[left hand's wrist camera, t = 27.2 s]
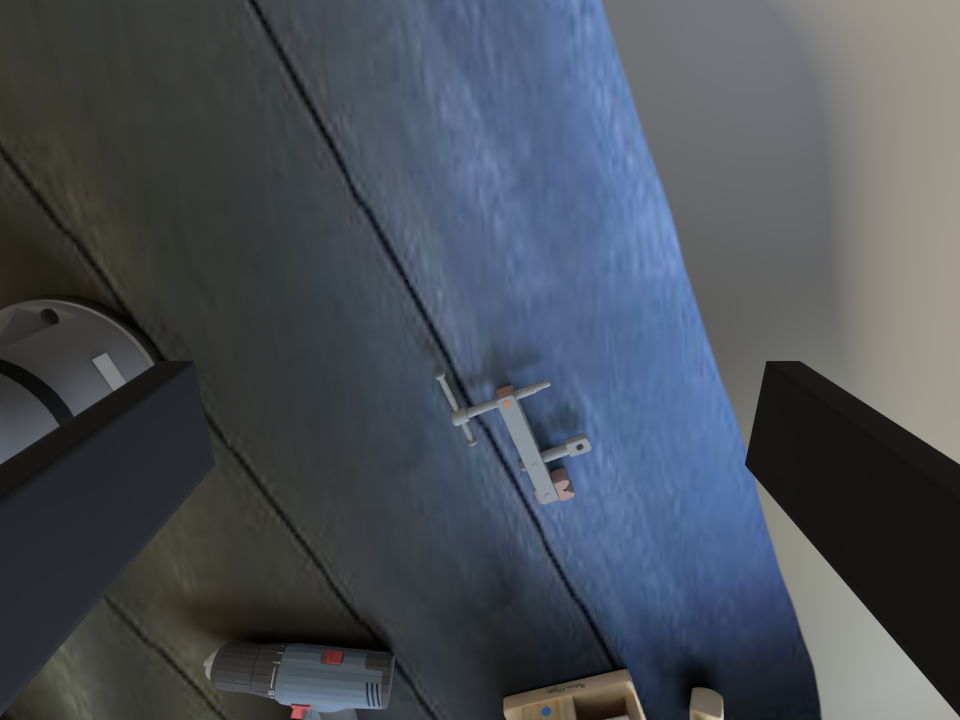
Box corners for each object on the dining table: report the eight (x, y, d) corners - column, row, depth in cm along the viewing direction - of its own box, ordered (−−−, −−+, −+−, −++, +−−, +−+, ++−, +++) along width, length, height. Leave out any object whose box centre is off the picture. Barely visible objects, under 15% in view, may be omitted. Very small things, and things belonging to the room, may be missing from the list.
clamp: (606, 486, 46) (500, 523, 48) (601, 472, 48) (499, 508, 50) (546, 335, 41) (429, 381, 43) (543, 326, 43) (432, 370, 45)
